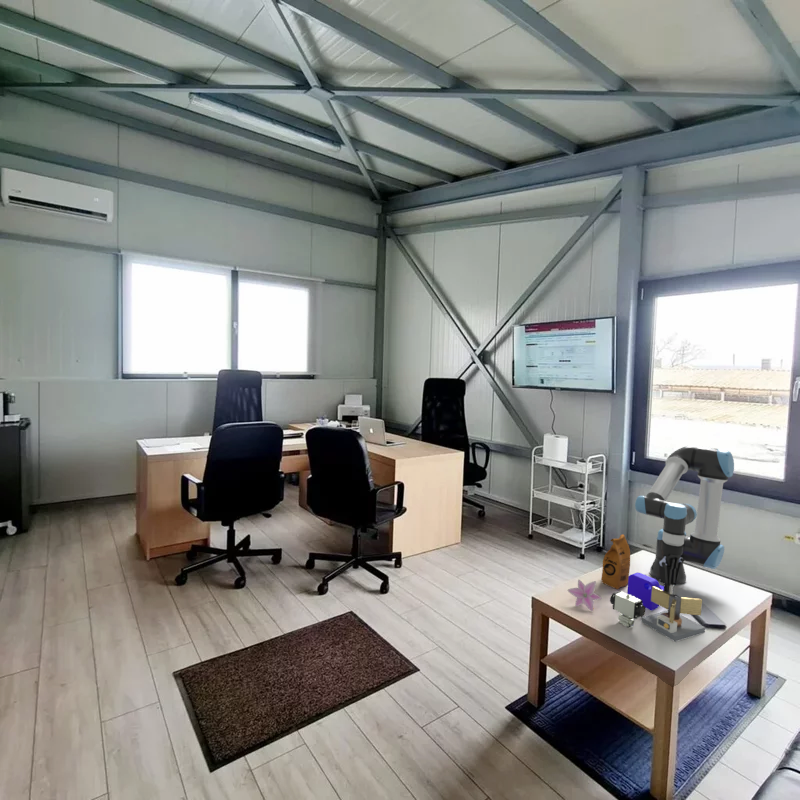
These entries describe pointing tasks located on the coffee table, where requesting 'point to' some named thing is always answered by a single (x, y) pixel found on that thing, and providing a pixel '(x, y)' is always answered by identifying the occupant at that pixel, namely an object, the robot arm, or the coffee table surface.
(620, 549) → the coffee package
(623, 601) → the pneumatic valve
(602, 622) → the coffee table surface
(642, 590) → the bracket
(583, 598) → the lily
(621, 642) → the coffee table surface
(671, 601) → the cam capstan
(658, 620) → the level stand
